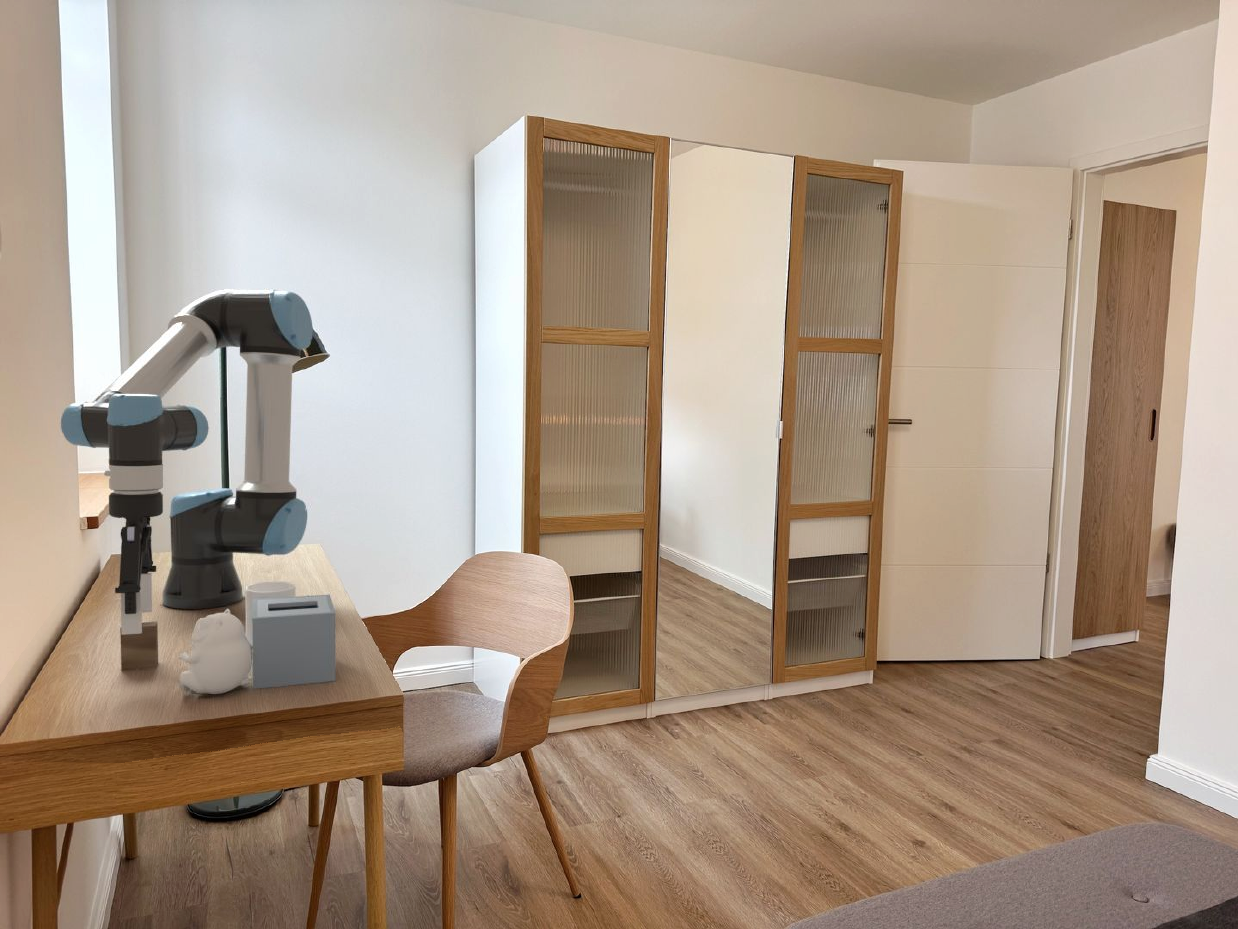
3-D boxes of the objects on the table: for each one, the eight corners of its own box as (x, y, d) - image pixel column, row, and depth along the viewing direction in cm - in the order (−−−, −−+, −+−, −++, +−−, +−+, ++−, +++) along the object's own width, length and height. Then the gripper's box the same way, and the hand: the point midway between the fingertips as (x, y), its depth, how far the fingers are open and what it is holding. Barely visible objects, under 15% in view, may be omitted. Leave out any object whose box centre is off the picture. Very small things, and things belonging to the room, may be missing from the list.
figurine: (264, 680, 137) (264, 605, 136) (240, 703, 127) (239, 623, 126) (200, 679, 137) (199, 604, 135) (171, 701, 127) (169, 621, 126)
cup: (243, 650, 151) (242, 593, 150) (251, 630, 162) (250, 577, 161) (294, 647, 153) (293, 591, 152) (298, 628, 165) (298, 575, 164)
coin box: (253, 664, 144) (252, 599, 143) (329, 657, 148) (329, 594, 147) (253, 689, 133) (252, 618, 132) (335, 681, 137) (335, 612, 136)
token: (123, 666, 141) (122, 624, 141) (158, 663, 143) (157, 621, 142) (121, 671, 139) (120, 628, 138) (156, 668, 141) (155, 625, 140)
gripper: (120, 483, 148) (122, 605, 150) (95, 501, 125) (97, 645, 127) (170, 482, 151) (170, 603, 153) (153, 500, 128) (155, 641, 130)
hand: (137, 622), depth 140 cm, fingers open, 13 cm apart
